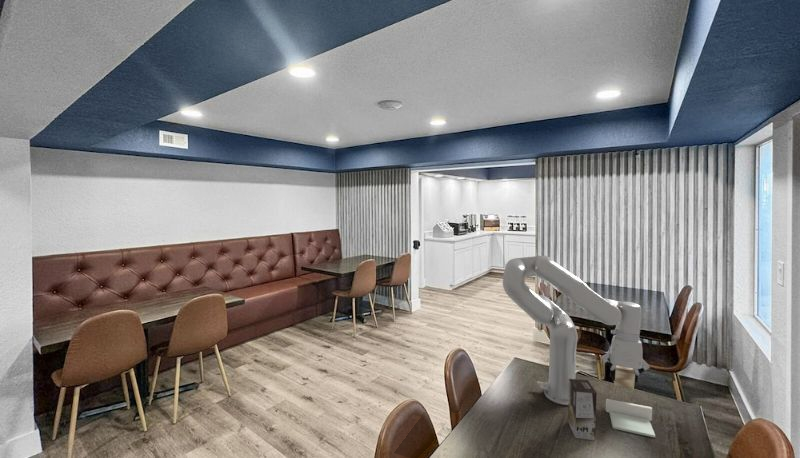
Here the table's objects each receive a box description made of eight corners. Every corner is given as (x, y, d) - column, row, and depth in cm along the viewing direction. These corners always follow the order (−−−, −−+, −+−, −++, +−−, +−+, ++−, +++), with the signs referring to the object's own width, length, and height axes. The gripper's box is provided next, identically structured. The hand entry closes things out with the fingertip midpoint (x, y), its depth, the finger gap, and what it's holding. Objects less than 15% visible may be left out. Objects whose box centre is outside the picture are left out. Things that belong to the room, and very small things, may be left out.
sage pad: (612, 428, 120) (613, 426, 120) (609, 413, 129) (609, 411, 129) (655, 437, 116) (655, 435, 115) (648, 421, 124) (649, 419, 124)
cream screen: (606, 411, 130) (606, 400, 129) (605, 410, 131) (606, 398, 131) (651, 421, 124) (652, 408, 124) (650, 419, 125) (651, 407, 125)
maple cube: (614, 385, 132) (616, 370, 131) (612, 378, 137) (613, 363, 137) (633, 389, 129) (635, 374, 128) (630, 381, 135) (632, 366, 134)
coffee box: (596, 440, 115) (597, 393, 113) (574, 438, 116) (575, 391, 114) (587, 423, 123) (588, 379, 122) (567, 421, 125) (568, 377, 123)
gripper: (601, 334, 131) (598, 380, 133) (657, 343, 124) (653, 392, 126) (599, 328, 138) (596, 371, 140) (652, 336, 131) (648, 382, 133)
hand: (623, 380), depth 133 cm, fingers closed on maple cube, 6 cm apart
